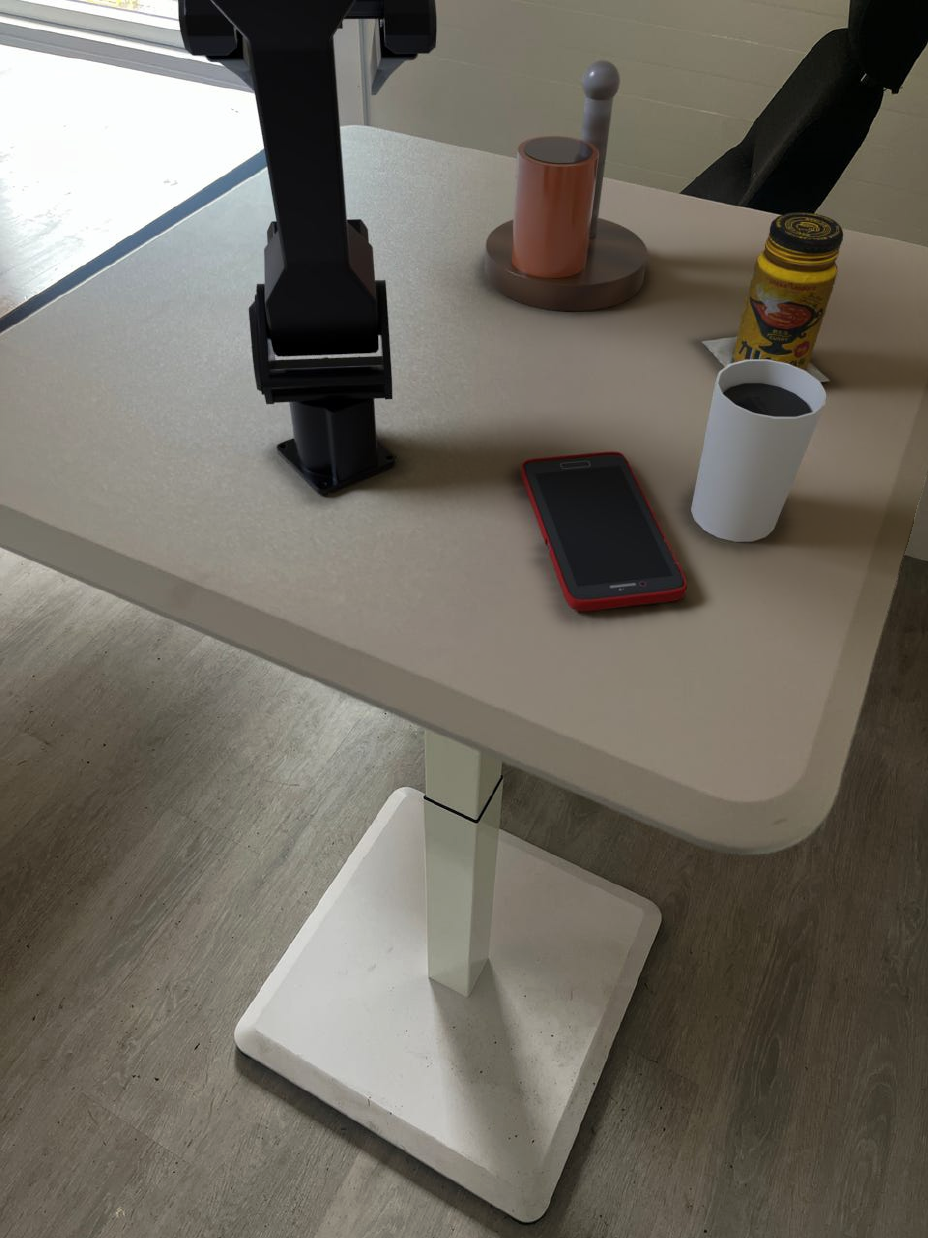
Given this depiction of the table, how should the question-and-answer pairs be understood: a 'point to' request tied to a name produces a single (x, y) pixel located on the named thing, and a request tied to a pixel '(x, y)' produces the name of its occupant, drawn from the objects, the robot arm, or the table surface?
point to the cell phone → (601, 532)
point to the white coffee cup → (754, 446)
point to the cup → (553, 205)
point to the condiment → (787, 294)
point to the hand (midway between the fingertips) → (317, 90)
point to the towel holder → (610, 247)
